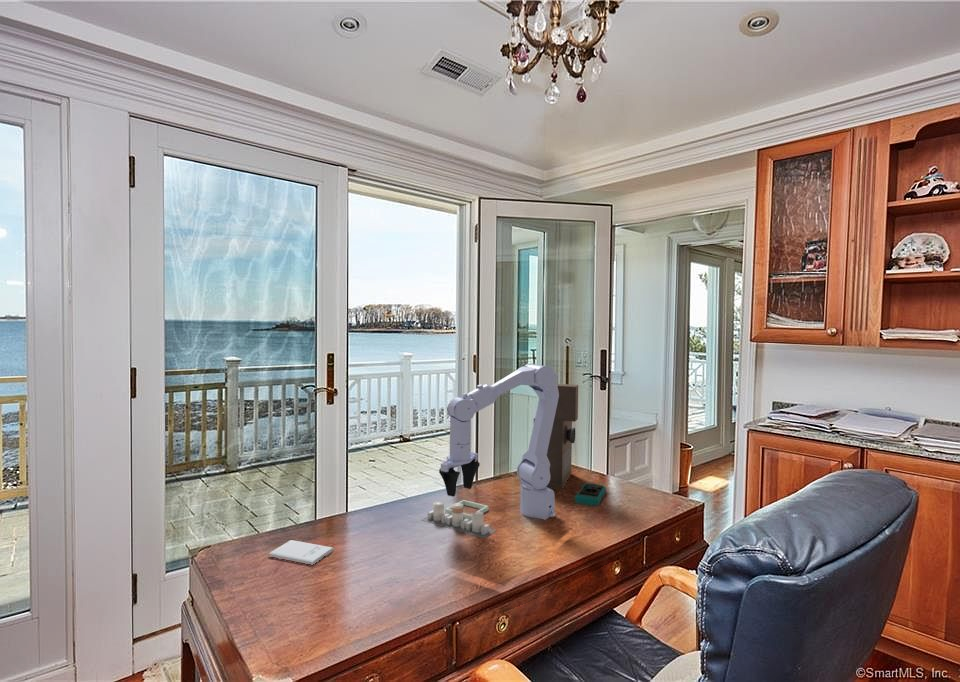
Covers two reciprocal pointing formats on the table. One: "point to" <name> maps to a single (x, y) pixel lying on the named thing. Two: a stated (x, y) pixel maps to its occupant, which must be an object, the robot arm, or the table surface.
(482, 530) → the fuse board
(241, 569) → the table surface
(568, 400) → the tall box with knob
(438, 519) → the white glossy rounded part
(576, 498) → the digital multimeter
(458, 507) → the cylinder
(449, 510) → the tray
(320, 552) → the external hard drive
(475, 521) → the cylinder
